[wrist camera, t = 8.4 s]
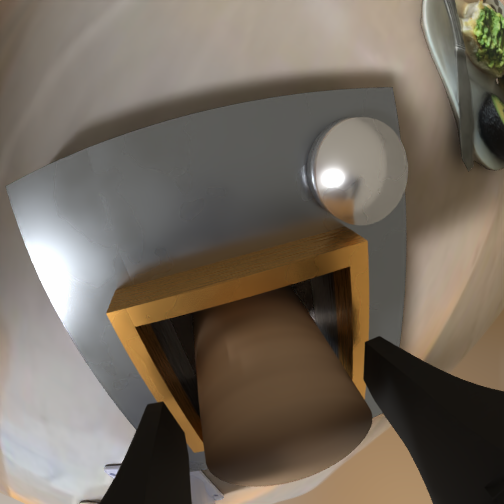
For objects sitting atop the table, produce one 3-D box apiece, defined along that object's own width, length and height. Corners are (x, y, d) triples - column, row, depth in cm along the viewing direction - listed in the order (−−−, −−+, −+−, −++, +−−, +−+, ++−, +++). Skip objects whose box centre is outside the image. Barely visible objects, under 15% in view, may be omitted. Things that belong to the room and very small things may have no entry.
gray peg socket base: (368, 381, 19) (399, 426, 15) (175, 438, 17) (178, 492, 13) (353, 93, 12) (418, 84, 8) (41, 173, 10) (-18, 195, 6)
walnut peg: (299, 333, 16) (365, 454, 9) (209, 359, 15) (232, 496, 8) (285, 249, 14) (379, 368, 7) (178, 279, 13) (177, 429, 6)
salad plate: (350, -36, 9) (386, -63, 6) (469, -38, 9) (499, -47, 6) (456, 196, 15) (498, 212, 12) (535, 125, 15) (565, 131, 12)
